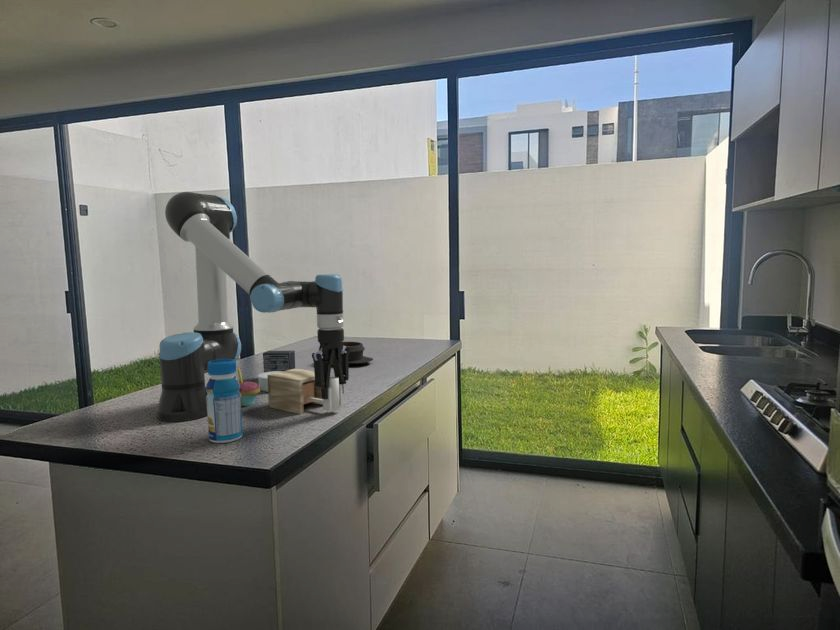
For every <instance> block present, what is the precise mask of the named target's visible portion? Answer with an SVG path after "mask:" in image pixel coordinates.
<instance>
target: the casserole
mask: <svg viewBox="0 0 840 630" xmlns="http://www.w3.org/2000/svg"><path fill="white" fill-rule="evenodd" d="M342 344H343V346H344V347H349V348H350V351H349V366H354V364H355V365H359V364H367V363H369V362H372V361H374V358H373V357H368V356H365V355H364V351H365V349H366V347H364V344H363V343H362V342H358V341H343V342H342Z"/></svg>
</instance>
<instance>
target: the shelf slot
mask: <svg viewBox="0 0 840 630" xmlns="http://www.w3.org/2000/svg"><path fill="white" fill-rule="evenodd" d="M267 378H268V392H267V394H268V408H272V409H276V410H279V411H280V410H281V411H284V412H289V413H292V414H293V413H294V414H299V415H303V414H305V411H304V410H305V409H304V408H305V407H304V405H303V383H305V382H308V381H311V382H314V398H319V399H322V394H321V388H320V387H316V386H315V373H314V370H309V369H303V368H296V367H295V369H291V370H287V371H283V372H278V373H274V374H270V375H267ZM324 384H325V383H324ZM309 404H312V405H313V404H314V405H318V404H319V405H320V406H323V404H321V403H316V402H310V403H309Z"/></svg>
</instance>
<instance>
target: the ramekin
mask: <svg viewBox="0 0 840 630" xmlns="http://www.w3.org/2000/svg"><path fill="white" fill-rule="evenodd" d="M278 372H283V371H272V372H265V373H264V372H262V373H259V374H257V380H258V383H259V384H258V385H259V387H260V391H262V392H266V393H268V378H267V375H270V374H274V373H278Z"/></svg>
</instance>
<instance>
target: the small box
mask: <svg viewBox="0 0 840 630" xmlns="http://www.w3.org/2000/svg"><path fill="white" fill-rule="evenodd" d="M295 352H296V351H295V350H267V351H265V352H262V361H263V373H265V372H272V371H287V370H291V369H295V368H296V355H295Z"/></svg>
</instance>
